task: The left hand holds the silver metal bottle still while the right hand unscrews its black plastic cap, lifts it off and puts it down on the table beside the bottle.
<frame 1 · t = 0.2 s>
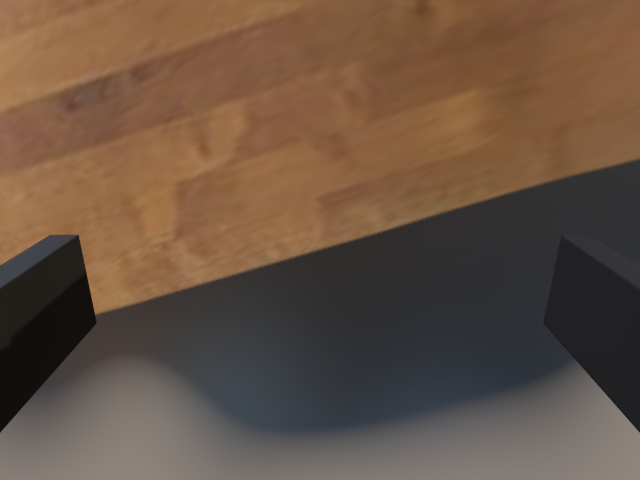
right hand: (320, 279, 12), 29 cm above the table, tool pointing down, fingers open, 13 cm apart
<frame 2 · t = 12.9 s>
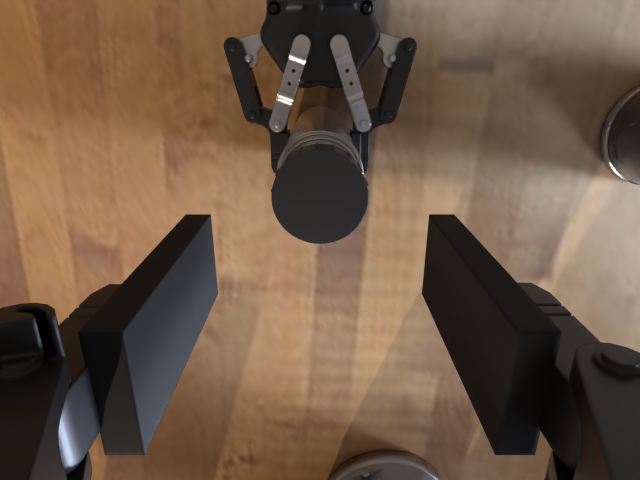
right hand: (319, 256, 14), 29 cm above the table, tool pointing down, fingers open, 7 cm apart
bottle: (320, 132, 41), on the table, touching left hand
cap: (320, 197, 21), point 22 cm above the table, screwed on, not yet turned
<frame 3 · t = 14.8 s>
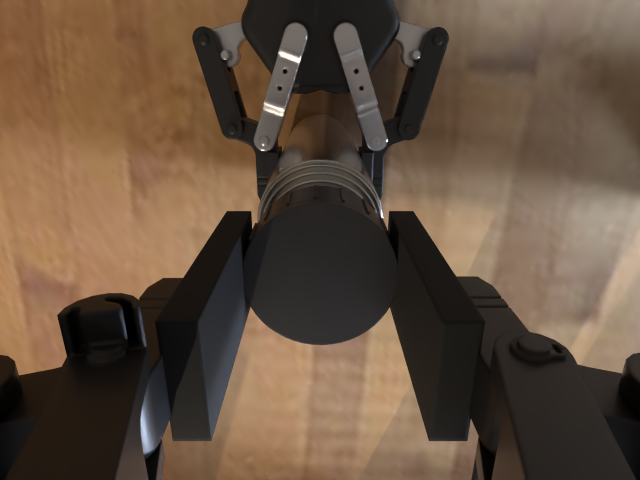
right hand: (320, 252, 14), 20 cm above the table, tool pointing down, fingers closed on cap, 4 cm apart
bottle: (320, 147, 33), on the table, touching left hand
cap: (320, 274, 13), point 22 cm above the table, screwed on, not yet turned, touching right hand
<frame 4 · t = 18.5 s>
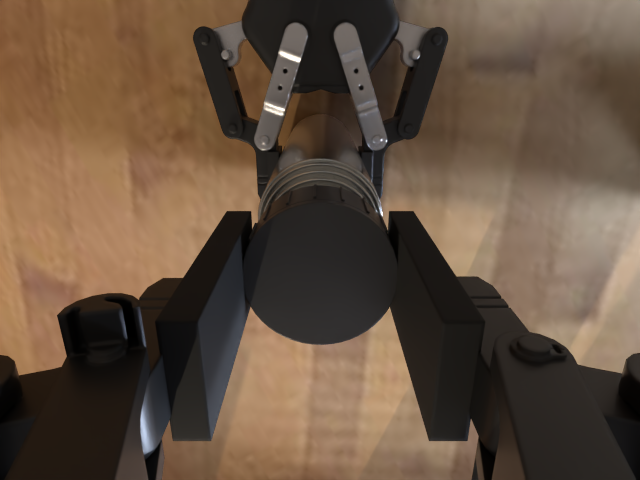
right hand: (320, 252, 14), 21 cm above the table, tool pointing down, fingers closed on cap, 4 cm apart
bottle: (320, 147, 34), on the table, touching left hand
cap: (320, 273, 13), point 22 cm above the table, turned 120° so far, risen 0.1 cm, still on its thread, touching right hand
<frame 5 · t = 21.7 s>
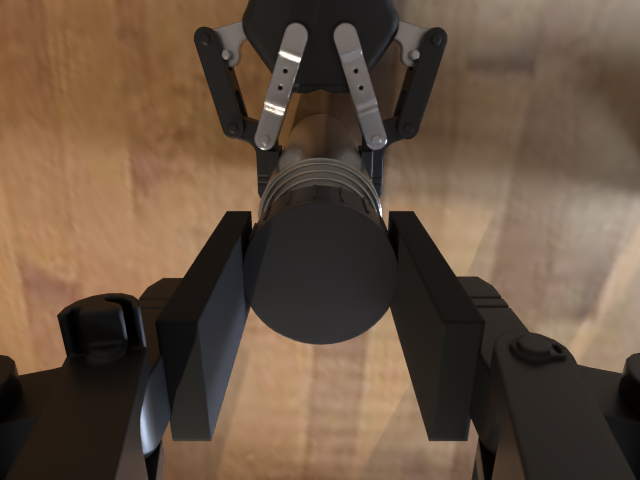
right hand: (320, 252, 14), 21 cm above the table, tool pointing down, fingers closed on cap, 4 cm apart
bottle: (320, 146, 34), on the table, touching left hand
cap: (320, 273, 13), point 22 cm above the table, turned 240° so far, risen 0.3 cm, still on its thread, touching right hand
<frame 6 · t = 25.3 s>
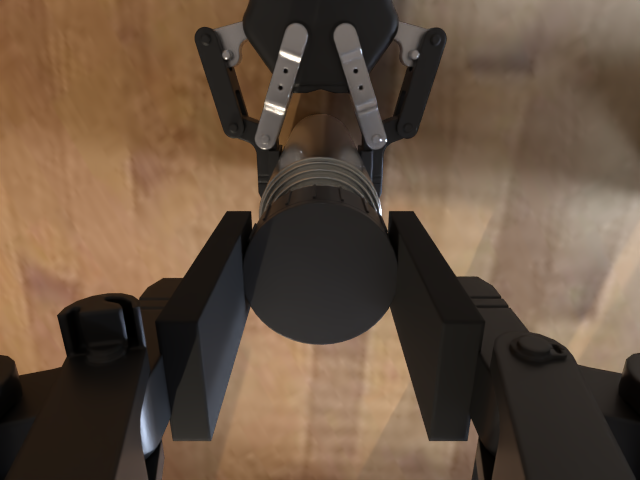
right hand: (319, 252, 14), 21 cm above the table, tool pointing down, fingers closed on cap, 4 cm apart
bottle: (320, 146, 34), on the table, touching left hand
cap: (320, 273, 13), point 22 cm above the table, turned 361° so far, risen 0.4 cm, still on its thread, touching right hand
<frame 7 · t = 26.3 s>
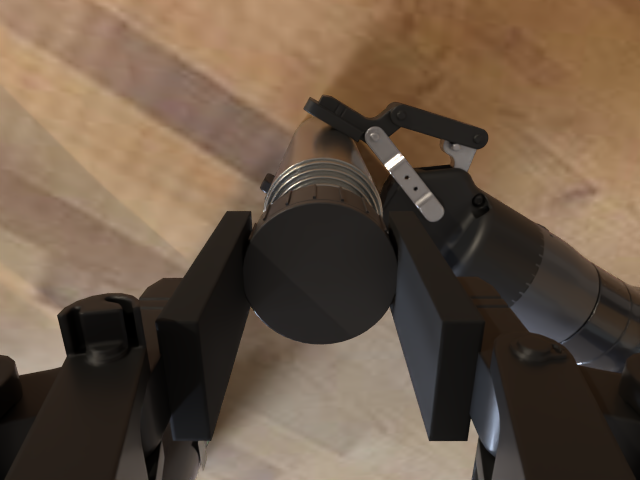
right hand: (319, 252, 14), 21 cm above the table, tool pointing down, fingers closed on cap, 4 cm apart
left hand: (285, 143, 28), fingers closed on bottle, 5 cm apart
bottle: (322, 147, 34), on the table, touching left hand
cap: (320, 273, 13), point 23 cm above the table, off its thread, touching right hand
when the right hand's fingers open (1 cm above the table, at t = 32.8 s): cap drops 1 cm, point 2 cm above the table.
when the left hand's fingers open (7 cm above the table, at t = 34.1 s): bottle stays where it is, on the table.
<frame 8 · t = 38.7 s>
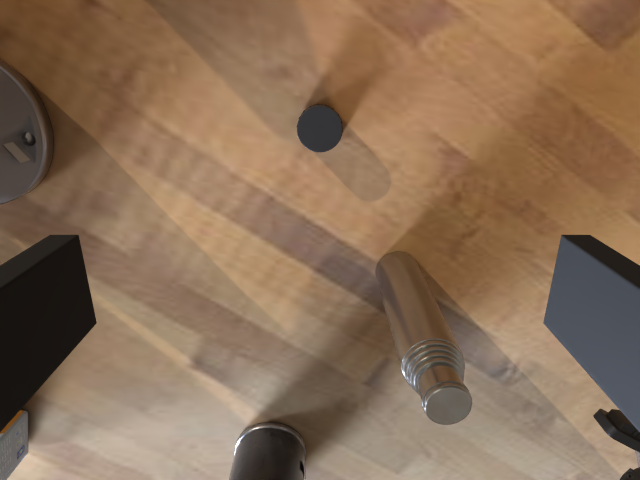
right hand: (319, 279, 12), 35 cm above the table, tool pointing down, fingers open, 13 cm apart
bottle: (396, 270, 51), on the table
cap: (319, 129, 44), point 2 cm above the table, off its thread
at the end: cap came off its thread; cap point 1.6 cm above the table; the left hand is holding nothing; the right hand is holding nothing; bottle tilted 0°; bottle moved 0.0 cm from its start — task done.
